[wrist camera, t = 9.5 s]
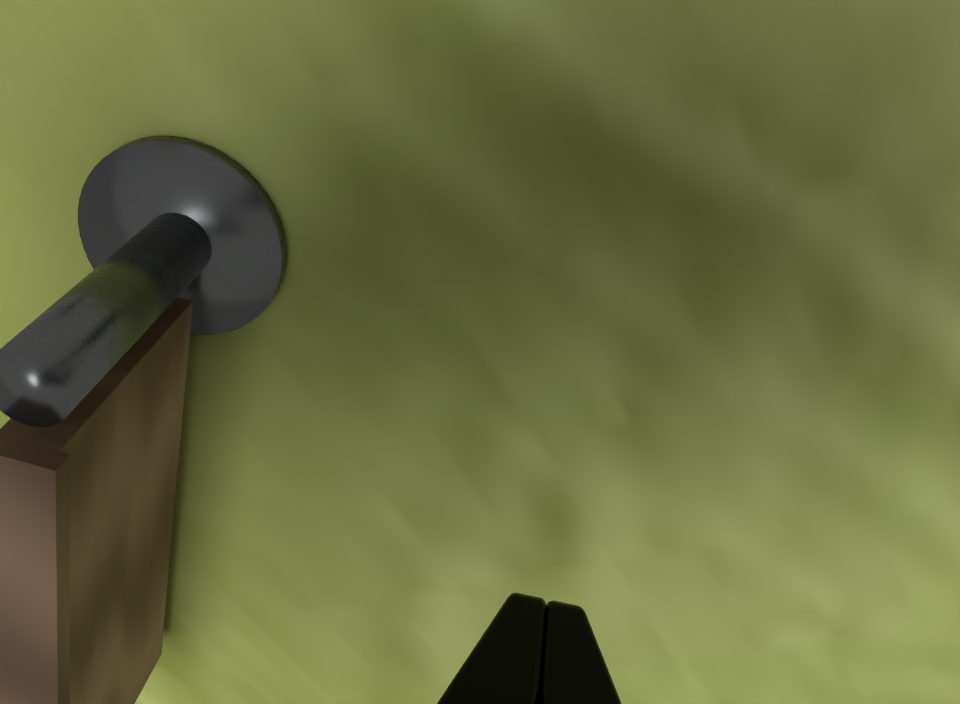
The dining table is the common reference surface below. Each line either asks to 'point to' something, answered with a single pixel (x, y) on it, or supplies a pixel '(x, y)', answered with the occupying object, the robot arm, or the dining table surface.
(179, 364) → the brown wooden plank
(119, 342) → the hinge pin
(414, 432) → the dining table surface
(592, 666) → the robot arm
